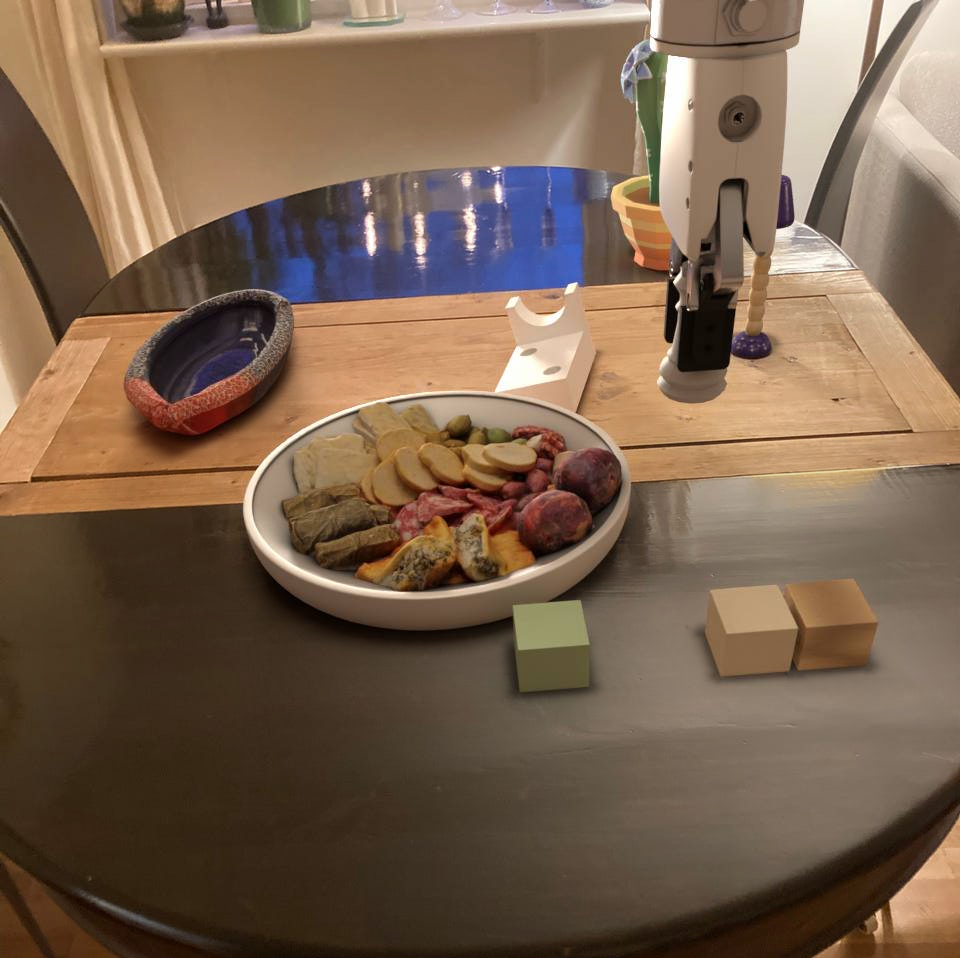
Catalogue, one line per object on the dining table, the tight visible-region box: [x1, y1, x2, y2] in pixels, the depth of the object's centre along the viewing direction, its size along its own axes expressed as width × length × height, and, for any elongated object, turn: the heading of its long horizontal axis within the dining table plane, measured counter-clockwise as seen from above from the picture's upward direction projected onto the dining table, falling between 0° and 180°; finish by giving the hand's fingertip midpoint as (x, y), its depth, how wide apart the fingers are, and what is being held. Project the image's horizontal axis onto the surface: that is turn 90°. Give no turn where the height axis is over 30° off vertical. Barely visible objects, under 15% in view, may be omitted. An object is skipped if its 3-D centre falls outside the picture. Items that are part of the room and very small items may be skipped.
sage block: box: [512, 599, 591, 693], centre depth 62 cm, size 4×4×4 cm
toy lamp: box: [731, 174, 795, 359], centre depth 94 cm, size 5×5×17 cm
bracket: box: [494, 281, 597, 414], centre depth 93 cm, size 13×7×8 cm, turn 166°
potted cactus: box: [610, 38, 672, 271], centre depth 112 cm, size 15×15×25 cm
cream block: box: [704, 584, 798, 677], centre depth 62 cm, size 4×4×4 cm
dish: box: [123, 288, 295, 436], centre depth 99 cm, size 16×31×5 cm, turn 172°
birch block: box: [783, 578, 879, 671], centre depth 62 cm, size 4×4×4 cm
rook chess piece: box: [656, 261, 728, 405], centre depth 59 cm, size 4×4×8 cm
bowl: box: [242, 390, 632, 631], centre depth 75 cm, size 30×30×8 cm
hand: (695, 351), depth 60 cm, fingers closed on rook chess piece, 3 cm apart
